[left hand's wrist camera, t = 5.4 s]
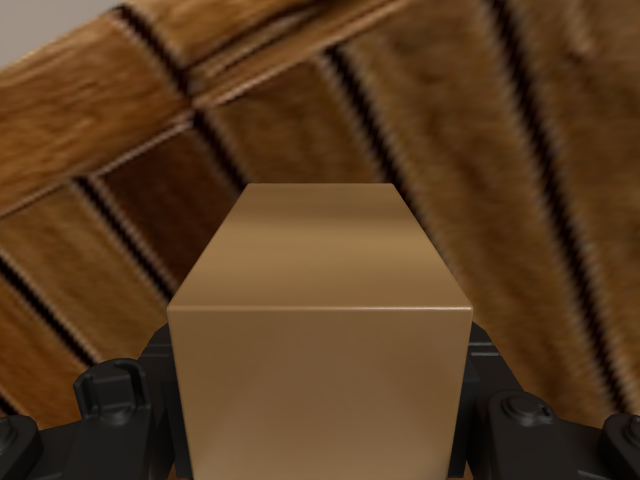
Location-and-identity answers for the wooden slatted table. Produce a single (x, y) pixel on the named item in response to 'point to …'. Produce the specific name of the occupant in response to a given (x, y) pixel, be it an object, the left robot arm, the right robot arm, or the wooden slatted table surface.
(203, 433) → the bar
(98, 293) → the wooden slatted table surface
